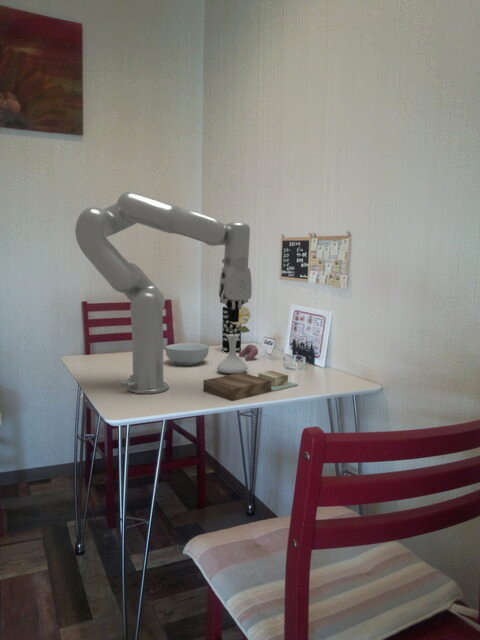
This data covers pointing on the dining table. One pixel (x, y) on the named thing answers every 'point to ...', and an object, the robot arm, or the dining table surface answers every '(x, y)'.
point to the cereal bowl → (187, 353)
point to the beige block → (274, 378)
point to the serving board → (237, 386)
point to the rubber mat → (283, 386)
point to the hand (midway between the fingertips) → (233, 321)
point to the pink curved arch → (249, 352)
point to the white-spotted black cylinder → (229, 332)
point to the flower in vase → (232, 361)
